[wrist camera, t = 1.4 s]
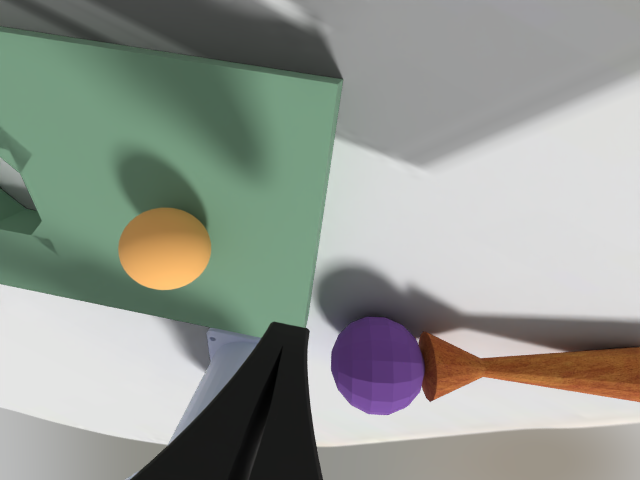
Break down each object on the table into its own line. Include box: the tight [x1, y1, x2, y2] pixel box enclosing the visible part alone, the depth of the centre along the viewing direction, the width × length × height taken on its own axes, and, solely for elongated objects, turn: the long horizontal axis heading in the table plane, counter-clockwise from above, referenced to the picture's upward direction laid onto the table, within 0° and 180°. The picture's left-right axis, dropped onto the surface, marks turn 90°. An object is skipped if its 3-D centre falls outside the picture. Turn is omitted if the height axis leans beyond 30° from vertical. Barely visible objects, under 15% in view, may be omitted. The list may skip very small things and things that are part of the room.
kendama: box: [331, 317, 640, 415], centre depth 19 cm, size 6×6×20 cm
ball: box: [118, 208, 211, 290], centre depth 14 cm, size 4×4×4 cm
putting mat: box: [0, 26, 343, 338], centre depth 17 cm, size 16×24×2 cm, turn 83°
